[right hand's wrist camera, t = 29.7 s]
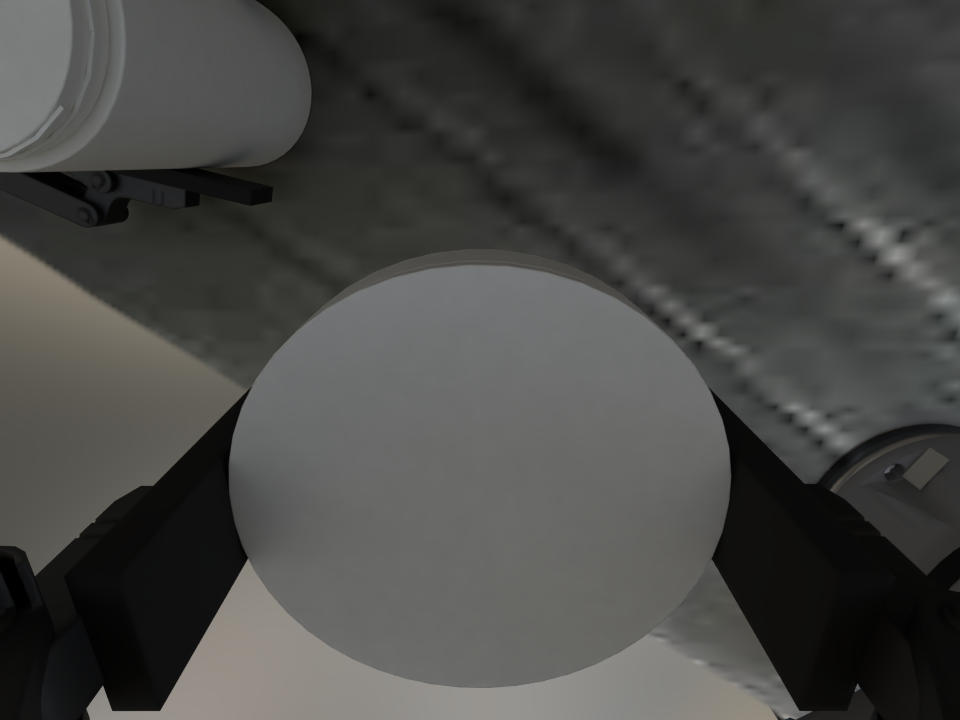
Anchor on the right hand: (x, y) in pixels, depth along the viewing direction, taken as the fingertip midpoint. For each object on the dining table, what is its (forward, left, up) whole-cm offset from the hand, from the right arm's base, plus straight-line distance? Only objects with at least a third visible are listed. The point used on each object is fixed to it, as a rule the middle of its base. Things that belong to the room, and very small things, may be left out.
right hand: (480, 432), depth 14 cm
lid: (0, 0, +3) cm, 3 cm away
